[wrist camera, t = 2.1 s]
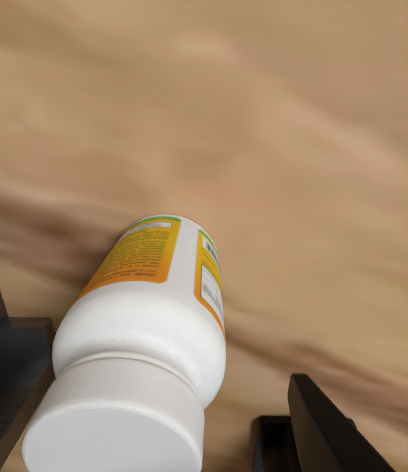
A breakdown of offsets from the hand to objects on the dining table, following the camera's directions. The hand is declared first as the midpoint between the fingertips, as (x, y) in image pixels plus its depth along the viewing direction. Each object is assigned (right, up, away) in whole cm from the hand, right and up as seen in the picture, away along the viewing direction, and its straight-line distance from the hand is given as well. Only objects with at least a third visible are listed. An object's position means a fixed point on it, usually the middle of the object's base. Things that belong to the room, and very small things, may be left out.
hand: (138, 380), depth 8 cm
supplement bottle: (0, +3, +7) cm, 8 cm away
